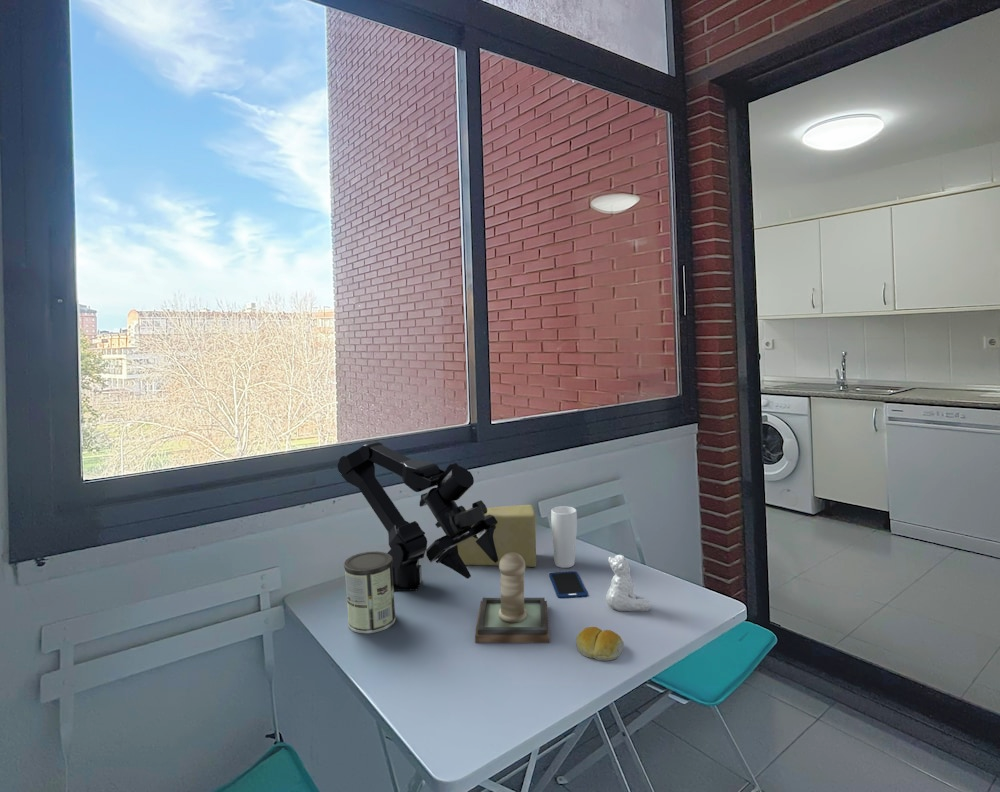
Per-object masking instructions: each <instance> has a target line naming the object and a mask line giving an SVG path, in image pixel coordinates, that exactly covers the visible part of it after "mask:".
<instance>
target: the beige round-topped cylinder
mask: <svg viewBox="0 0 1000 792" xmlns="http://www.w3.org/2000/svg"><path fill="white" fill-rule="evenodd" d="M498 568H499V571H500V598H501V609H500V610H499V618H500V619H501V620H502V621H504V622H508V623H517V622H521V621H523V620H525V619H526V617H527V611H526V609H525V608H524V598H525V570H526V567H525V561H524V559H523V557H522V556H521V555H519V554H518V553H515V552H510V553H507V554H505V555H504V556H503V557H502V558H501V560H500V562H499V566H498Z"/></svg>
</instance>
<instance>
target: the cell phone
mask: <svg viewBox="0 0 1000 792" xmlns="http://www.w3.org/2000/svg"><path fill="white" fill-rule="evenodd" d="M548 576H549V579H550V581H551V584H552V587H553V589H554V592H555V595H556V597H557V598H558V599H573V598H574V599H575V598H586V597H589V594H588V591H587V589H586V588H585V586H584V583H583V581H582V579H581V577H580V576H579V573H578V571H575V570H572V571H571V570H570V571H555V572H549V573H548Z"/></svg>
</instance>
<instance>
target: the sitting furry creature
mask: <svg viewBox="0 0 1000 792" xmlns="http://www.w3.org/2000/svg"><path fill="white" fill-rule="evenodd" d="M608 563H609V567H610V568H611V571H613V573H614V575H613V577H612V578H611V580H610V584H609V585H610V587H608V590H607V592H606V595H605V599H606V600H605V601H606V604H607V605H608V606H609V607H610V609H613V610H615V611H618V612H648V611H650V610H651V603H650V602H649V600H647V599H644V598H643V597H641V598H637V596H636V594H635V593H634V588H635V585H634V582H633V580H632V577H631V574H630V573H631V568H630V565H629V561H628V560H627V559H626V558H625V556H624V554H616V555H615V556H614V557H613V556H609V557H608Z"/></svg>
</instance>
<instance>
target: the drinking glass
mask: <svg viewBox="0 0 1000 792" xmlns="http://www.w3.org/2000/svg"><path fill="white" fill-rule="evenodd" d="M550 512H551V513H550V521H551V522H550V525H551V536H552V544H553V556H554V557H553V560H554V562H553V563H554V564H555V566H556V567H558V568H562V569H568V568H572V567H573V566H574V565H575V562H576V561H575V558H576V557H575V556H576V544H577V543H576V542H577V530H578V513H577V508H575V507H572V506H563V505H562V506H561V505H560V506H555V507H553V508H551V511H550Z"/></svg>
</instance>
